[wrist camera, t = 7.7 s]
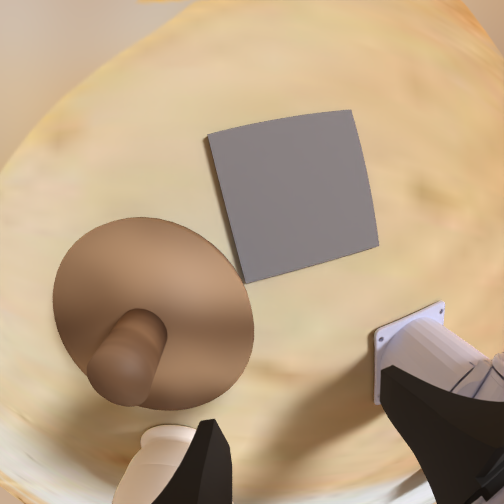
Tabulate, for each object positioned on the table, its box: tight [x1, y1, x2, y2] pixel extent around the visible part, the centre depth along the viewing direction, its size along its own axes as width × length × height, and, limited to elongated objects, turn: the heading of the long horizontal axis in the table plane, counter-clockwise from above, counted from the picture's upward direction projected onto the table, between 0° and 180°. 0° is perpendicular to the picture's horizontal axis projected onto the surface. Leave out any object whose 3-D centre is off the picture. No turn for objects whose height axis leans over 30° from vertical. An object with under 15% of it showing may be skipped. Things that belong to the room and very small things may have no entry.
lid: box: [53, 217, 254, 410], centre depth 12 cm, size 12×12×6 cm
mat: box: [207, 110, 379, 283], centre depth 18 cm, size 10×10×1 cm
